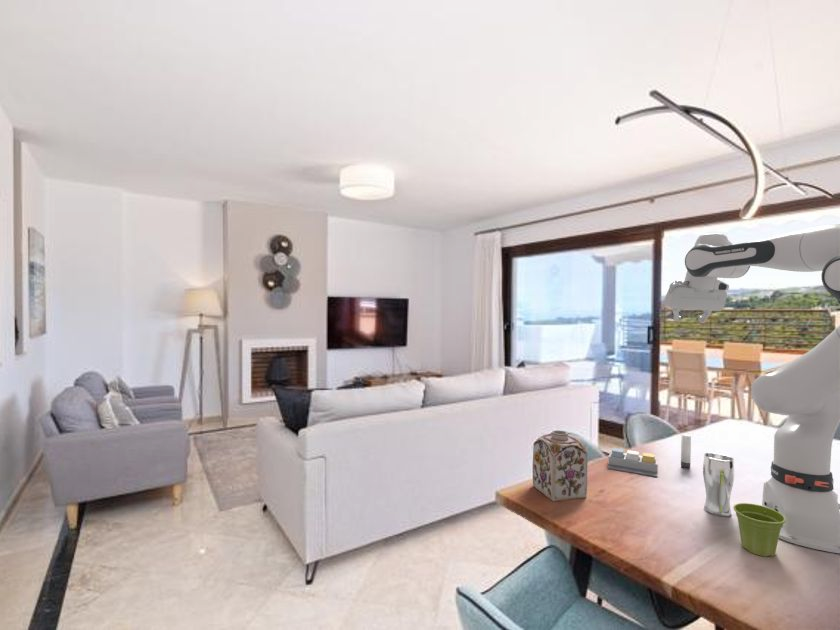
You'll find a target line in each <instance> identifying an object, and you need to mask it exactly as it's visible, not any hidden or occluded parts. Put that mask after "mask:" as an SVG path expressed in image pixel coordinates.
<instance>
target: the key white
mask: <svg viewBox="0 0 840 630" xmlns="http://www.w3.org/2000/svg"><path fill="white" fill-rule="evenodd" d="M626 453H627V459H630V460H636V461H639V455H640V451H636V450H629V449H627V451H626Z"/></svg>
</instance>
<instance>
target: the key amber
mask: <svg viewBox="0 0 840 630" xmlns="http://www.w3.org/2000/svg"><path fill="white" fill-rule="evenodd" d="M642 456H643V460H642V462H648V463H654V464H655V459H656V455H655V454H654V453H650V452H648V453H647V452H642Z"/></svg>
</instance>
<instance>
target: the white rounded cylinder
mask: <svg viewBox="0 0 840 630" xmlns="http://www.w3.org/2000/svg"><path fill="white" fill-rule="evenodd" d="M680 441H681V446H680V447H681V449H680V467H681V468H682V469H686V470H687V469H688V470H689V469H691V459H692V458H691V457H692V456H691V454H692V453H691V452H692V451H691V450H692V447H691V446H692V436H691V435H689V434H681V440H680Z"/></svg>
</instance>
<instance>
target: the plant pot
mask: <svg viewBox="0 0 840 630" xmlns="http://www.w3.org/2000/svg"><path fill="white" fill-rule="evenodd" d="M733 511H735V514H736V515H735V516H736V517H737V523H738V529H739V536H740V542H741V543H740V544H741V547H742V548H744V549H745V550H747V551H748V552H749V553H752V554H754V555H758V556H761V557H768V556H771V557H774V556H775V555H776V551H777V546H778V542H779V539H780V538H779V534H780V530H781V528H782V526H783V523H785V522H786V518H785V516H784V515H782V514H781V513H779V512H777V511H775V510H773V509H770V508H768V507H764V506H762V504H755V503H748V502H740V503H736V504H734V505H733Z"/></svg>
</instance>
